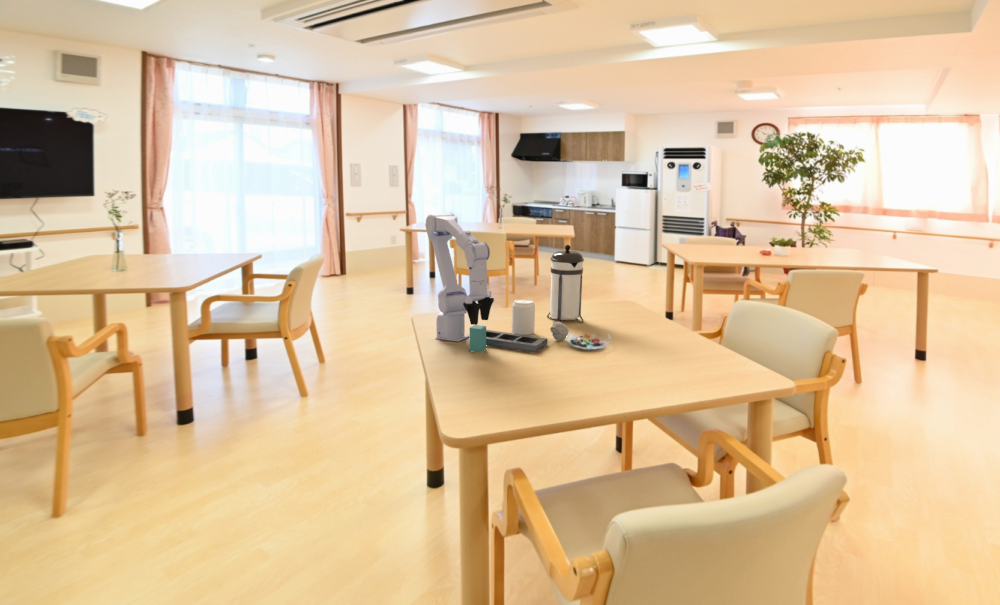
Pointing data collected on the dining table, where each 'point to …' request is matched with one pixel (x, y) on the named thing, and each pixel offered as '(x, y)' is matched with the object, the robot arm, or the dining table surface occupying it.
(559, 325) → the grey lumpy piece
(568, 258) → the coffee press
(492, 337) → the rail
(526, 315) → the beverage can
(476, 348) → the square peg
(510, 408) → the dining table surface
